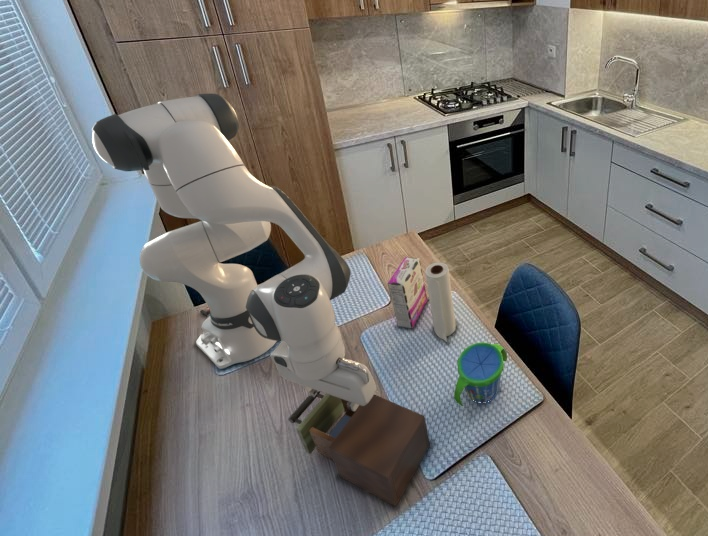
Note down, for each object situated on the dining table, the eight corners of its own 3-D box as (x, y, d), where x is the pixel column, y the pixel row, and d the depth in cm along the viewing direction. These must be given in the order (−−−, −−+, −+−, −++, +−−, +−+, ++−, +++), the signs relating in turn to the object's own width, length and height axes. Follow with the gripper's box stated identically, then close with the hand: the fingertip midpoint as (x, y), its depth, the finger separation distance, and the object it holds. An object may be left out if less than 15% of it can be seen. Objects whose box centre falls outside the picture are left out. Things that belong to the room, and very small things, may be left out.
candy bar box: (412, 298, 124) (404, 255, 117) (427, 300, 123) (420, 257, 116) (396, 327, 114) (386, 282, 107) (412, 329, 113) (403, 284, 106)
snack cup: (470, 430, 88) (467, 400, 84) (443, 397, 95) (438, 367, 91) (521, 383, 98) (521, 354, 93) (493, 356, 105) (491, 328, 100)
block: (333, 448, 84) (328, 435, 82) (349, 427, 87) (345, 414, 85) (350, 457, 82) (345, 444, 80) (365, 436, 86) (361, 422, 84)
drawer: (287, 441, 86) (276, 418, 83) (325, 397, 95) (317, 374, 92) (352, 477, 80) (344, 453, 76) (387, 425, 89) (380, 402, 85)
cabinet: (339, 476, 81) (328, 447, 77) (378, 420, 91) (370, 392, 86) (395, 507, 76) (387, 477, 72) (430, 444, 86) (424, 415, 81)
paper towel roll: (441, 317, 117) (432, 259, 108) (459, 323, 115) (452, 264, 106) (427, 337, 111) (417, 276, 102) (447, 343, 109) (438, 282, 99)
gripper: (376, 353, 75) (387, 400, 81) (289, 327, 81) (306, 373, 87) (354, 383, 69) (368, 431, 75) (262, 353, 75) (282, 400, 81)
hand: (334, 400), depth 81 cm, fingers open, 8 cm apart
